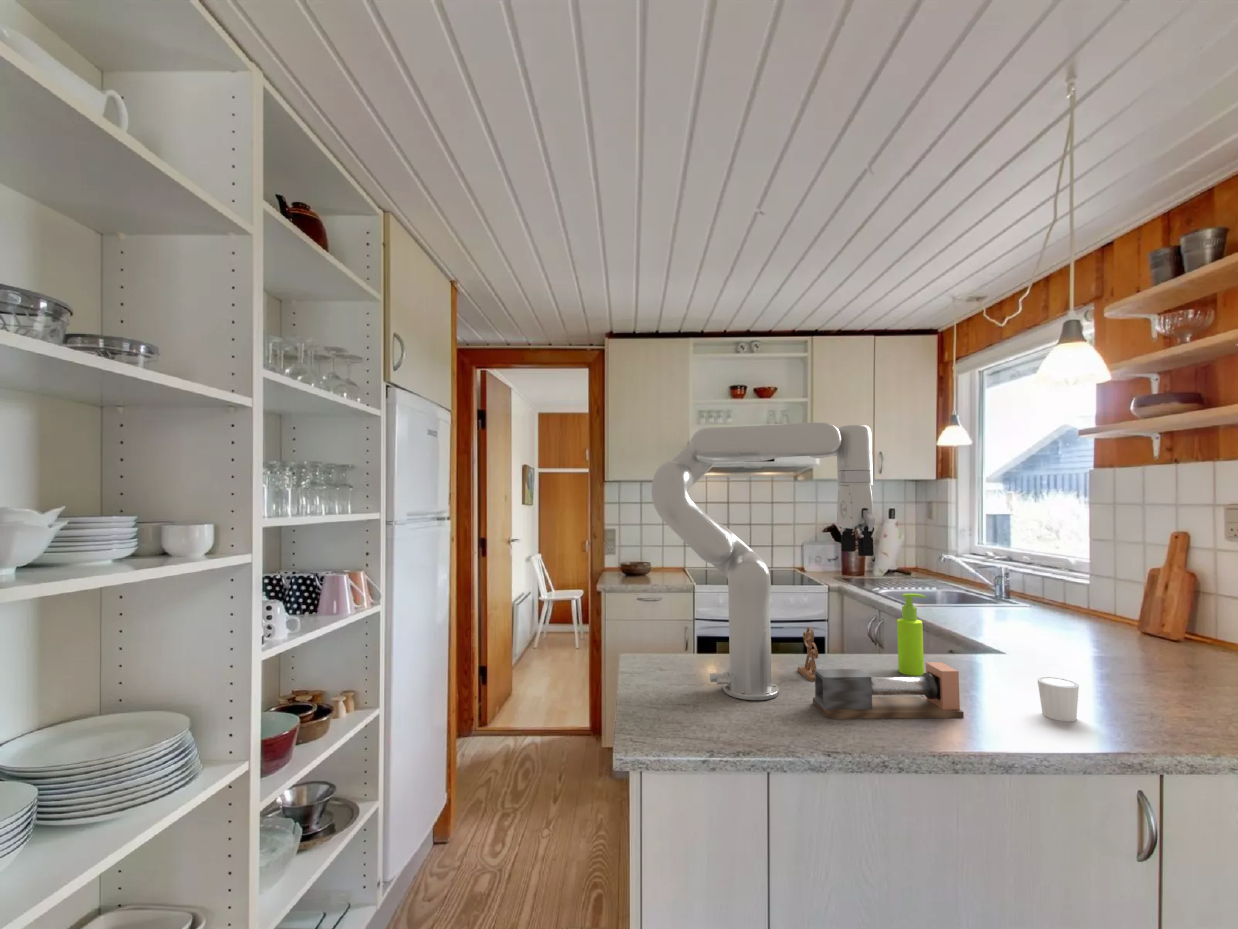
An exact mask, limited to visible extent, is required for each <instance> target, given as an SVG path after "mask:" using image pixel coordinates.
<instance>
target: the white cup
mask: <svg viewBox="0 0 1238 929" xmlns="http://www.w3.org/2000/svg"><path fill="white" fill-rule="evenodd" d="M1037 685H1038V692H1039V700H1040V706H1041V712H1042V715H1043V716H1045V717H1046V718H1049V719H1052V720H1055V721H1060V722H1061V721H1062V722H1075V721H1077V716H1078V702H1079V688H1080V686H1079V685H1080V684H1078V683H1077V682H1074V681H1072V680H1068V679H1065V678H1059V677H1052V676H1051V677H1049V676H1048V677H1047V676H1043V677H1038V678H1037Z"/></svg>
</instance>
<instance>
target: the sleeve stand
mask: <svg viewBox="0 0 1238 929" xmlns="http://www.w3.org/2000/svg"><path fill="white" fill-rule="evenodd" d="M871 677H872V676H870V675H869V674H868V673H867V672H865V671H864V670H862V669H861V668H837V669H835V668H832V669H831V668H830V669H829V668H822V669H817V668H816V669H815V681H814V696H813V697H812V703H813V705H814V706H815V707H816V708H817V709H818V710H819V712H820V713H822V715H823V716H824V717H825V718H826V719H827V720H829V719H831V720H832V719H834V720H835V719H839V720H840V719H948V718H949V719H955V718H957V719H959V718H964V717H965V715H964V711H963V710H962V709H961V708H960V709H942V708H940V707H939V706H937V705H935V704H934V703H932V702H931V701H929V700H928V699H927V697H926V696H873V695H872V679H871Z"/></svg>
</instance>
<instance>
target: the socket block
mask: <svg viewBox="0 0 1238 929" xmlns="http://www.w3.org/2000/svg"><path fill="white" fill-rule="evenodd" d="M925 673H932V674H933V675H934V677H939V678H940V695H938V696H937V698H936V699H928V698H927V699H928V700H929V701H931V702H932V703H934V704H935V705H937V706H939V707H940V708H942V709H960V710H961V707H960V704H961V701H960V680H959V678H960V677H959V670H957V669H955V668H953V667H952V666H950V665H948V664H946V663H944V662H940V661H939V662H938V661H937V662H936V661H935V662H933V661H932V662H931V661H930V662H929V661H927V662H925Z"/></svg>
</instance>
